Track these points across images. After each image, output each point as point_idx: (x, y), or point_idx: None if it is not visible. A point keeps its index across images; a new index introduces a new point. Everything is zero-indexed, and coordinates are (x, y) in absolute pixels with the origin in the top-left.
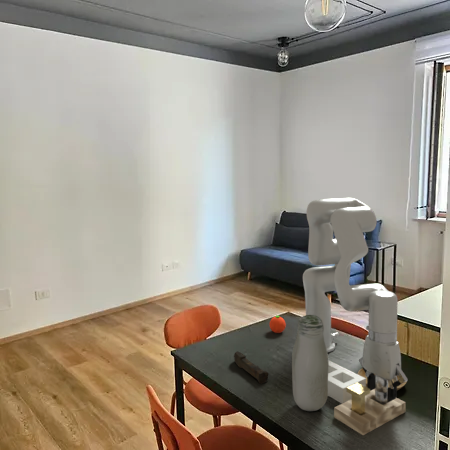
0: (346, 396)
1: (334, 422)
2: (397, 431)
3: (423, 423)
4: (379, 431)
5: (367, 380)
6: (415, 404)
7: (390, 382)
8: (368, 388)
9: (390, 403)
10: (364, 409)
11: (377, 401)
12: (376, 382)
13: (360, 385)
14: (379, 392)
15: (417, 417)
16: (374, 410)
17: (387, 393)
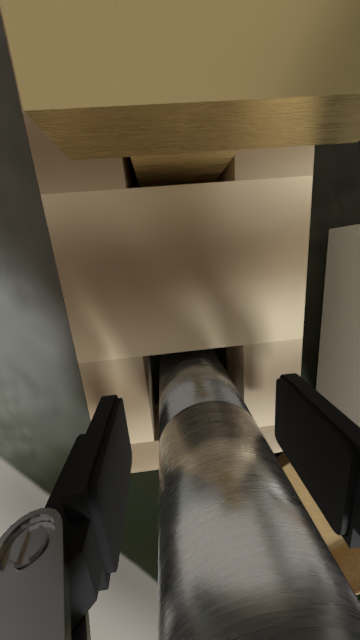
0: (356, 256)
1: None
2: (3, 290)
3: (11, 435)
4: (41, 205)
5: (357, 425)
6: (136, 500)
7: (2, 633)
8: (76, 97)
9: (135, 404)
10: (132, 160)
11: (195, 360)
12: (251, 465)
13: (312, 28)
14: (190, 402)
15: (59, 445)
16: (122, 261)
17: (109, 434)
